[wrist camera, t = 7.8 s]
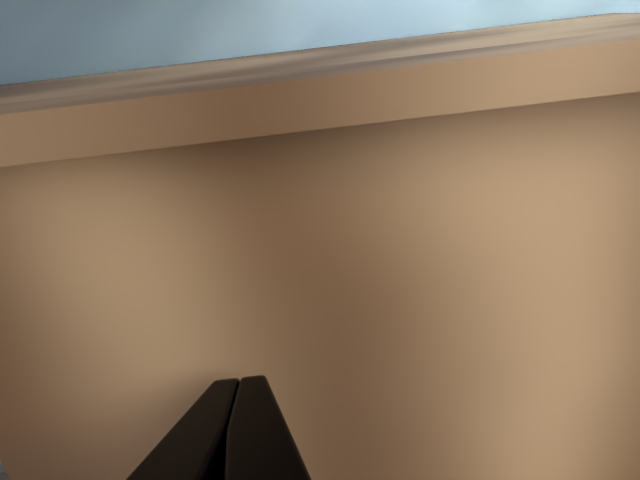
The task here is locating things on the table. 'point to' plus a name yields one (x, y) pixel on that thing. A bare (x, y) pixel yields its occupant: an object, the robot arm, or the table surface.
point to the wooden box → (334, 255)
